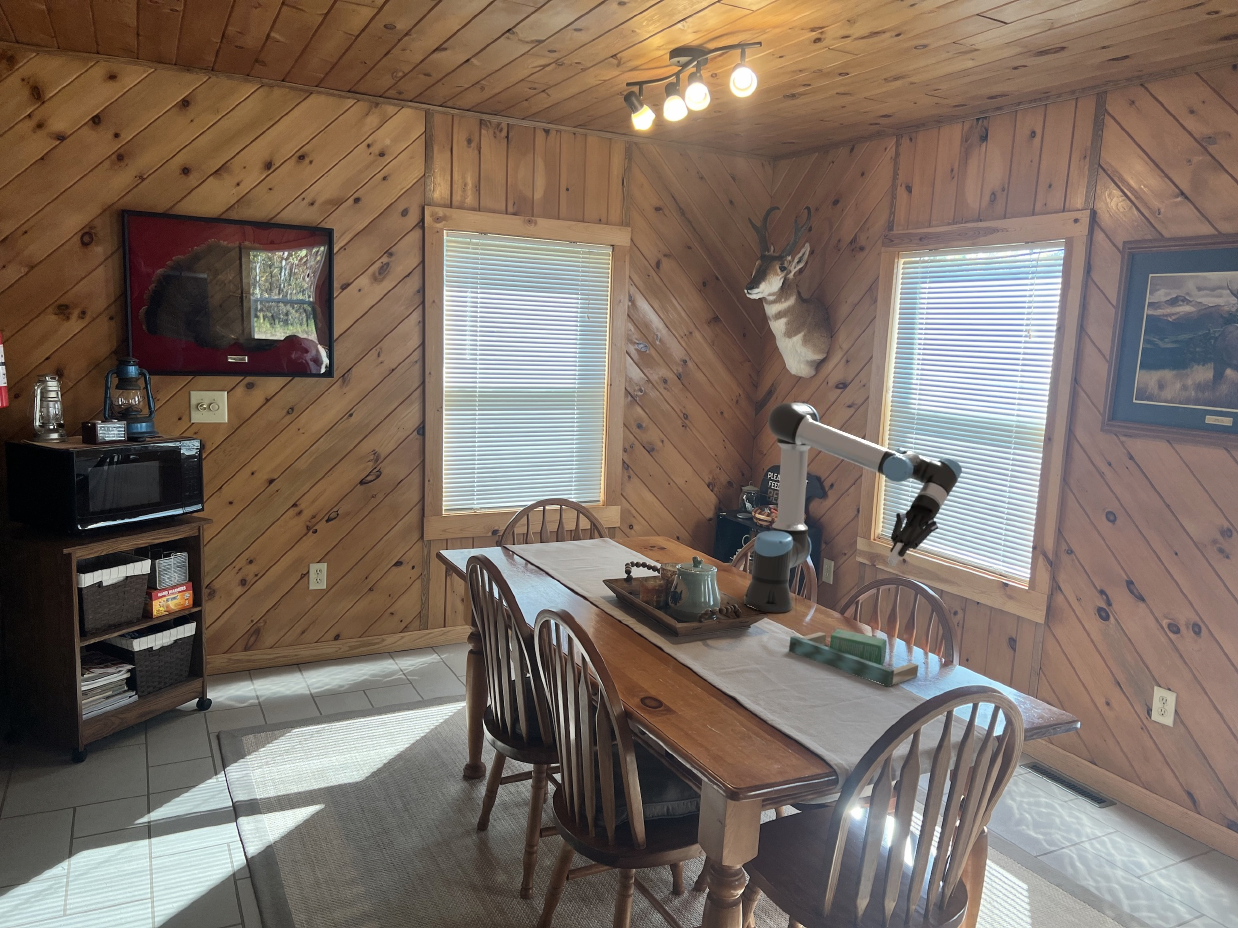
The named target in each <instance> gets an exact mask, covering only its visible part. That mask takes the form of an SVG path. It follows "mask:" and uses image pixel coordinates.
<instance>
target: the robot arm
mask: <svg viewBox="0 0 1238 928" xmlns="http://www.w3.org/2000/svg"><path fill="white" fill-rule="evenodd" d="M767 426H768V429H769V430H770V432H771V433H772V435H773V436H774V437H776V440H777V441H776V443H777V445H778V446H779V447H780V449H781V451H780V467H779V468H780V469H779V484H778V499H777V500H778V502H777V504H778V505H777V517H776V519H777V520H776V521H775V522H774V523H772V525H771V530H769V531H767V530H765V531H761V532H759V533H758V534H757V535H756V537H755V540H754V545H753V558H752V571H751V580H750V582H749V584H748V588H747V589H746V592H745V594H744V597H743V605H744V604H746V605H749V606H752V607H754V608H756V609H758V610H757V611H759V610H762V611H761V612H765V613H774V614H775V613H778V614H779V613H787V612H790V611H791V610H792V607H793V600H792V597H791V590H790V587H789V580H790V570H791V569H792V568H794V567H798V566H801V565H802V564H803V563H804V562H805V561H806V560H807V559H808V558H810V557H809V556H810V554H811V551H812V541H811V538H810V537H809V536H808V534H809V532H808V531H809V528H808V526H807V525H806V524H805V521H804V520H805V507H806V506H805V505H806V490H807V474H808V457H809V450H810V449H811V448H814V449H816V450H819V451H821V452H824V453H827V454H829V455H831V456H835V457H837V458H839V459H842V460H845V461H848V462H850V463H853V464H855V465H858V466H860V467H863V468H865V469H867V470H870V471H872V472H875V473H878V474H880V475H883V476H885V478H886V479H888V480H889V481H891V482H896V483H901V482H905V481H907V480H910V479H912V480H914V481H916V482H919V483H921V484H923V485H922V487H921V488H920V490H919V492H918V493H917V496H916V497H915V498H914V499H913V501H912V503H911V505H910V507H909V509H908V510H906V511H905V513H902V514H901V513H899V512H897V513H896V514H895V516H896V520H895V523H894V525H893V530H892V532H891V536H890V539H891V541H892V544H893V545H892V546H891V548H890V550H889V552H890V554H889V556H888V558H887V559H886V560H887V562H888V565H889V566H890V567H896V565H897V563H898V562H899V561H900V558H903V557H904V556H905V555H906V553H907V551H908V550H910V549H912V550H916V549H917V548H918V547H919V546H920V545H921V544H922V543H923V542H924V541H925V540H926V539H927V538H928V537H929V536H930V535H931V534H932V533H933V532H935V531H936V530H938V529H939V526H938V524H937V521H936V520H935V518H936V517H937V515H938V513H940V510H941V509H942V507H943V505H944V504H945V502H946V500H947V499H948V497H949V496H950V494H951V492H952V490H953V488H955V486H956V484H957V483H958V480H959V479H960V477H961V474H962V472H963V471H962V470H963V468H962V465H960V463H959V462H958V461H957V460H955V459H954V458H951V457H941V458H940V459H939V460H938V461H936V460H932V459H931V458H928V457H925V456H923V455H921V454H918V453H916V452H914V451H912V450H910V449H906V448H903V447H899V448H897V449H896V450H895V451H894V450H890V449H888V448H885V447H883V446H880V445H877V444H876V443H872V442H871V441H868V440H865V439H862V438H859V437H857V436H854V435H851V434H849V433H846V432H843V431H841V430H839V429H836V428H833V427H831V426H827V425H825V424H822V423H820V417H819V414H818V412H817V410H816V409H815V408H814V407H813V406H811V405H809V404H807V403H805V402H799V401H798V402H797V401H796V402H783V403H780V404H777V405H776V406H774V407H773V408H772V409H771V410H770V412H769V414H768V419H767ZM904 523H905V524H904ZM903 525H904V526H903ZM746 605H745V606H746Z"/></svg>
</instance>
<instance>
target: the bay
mask: <svg viewBox="0 0 1238 928" xmlns="http://www.w3.org/2000/svg"><path fill="white" fill-rule="evenodd" d="M826 642H827V633H825V632H819V631H818V632H816V633H812V634H808V635H804V636H801V637H800V636H797V635H792V636H790V637H789V645H788V646H789V648H788V652H791V653H793V654H796V655H798V656H802V657H804V658H806V659H809V660H812V661H816V662H818V663H821V664H822V665H823V664H824V665H825V666H829V667H832V668H833V669H837V670H840V671H842V670H843V672H846V673H847V674H850V673H851V675H853V674H854V675H853V676H856V675H857V676H856V677H859V676H860V677H859V678H861V677H863V678H862V679H864V678H867V679H870V680H873V681H876V682H879V683H881V684H884V685H885V686H884V687H886V686H890V685H893V684H895V685H897V683H898V684H901V683H903V682H905V681H908V680H911V679H914V678H917V677H918V673H919V664H917V663H914V662H909V663H907V664H904V665H901V666H897V667H895V668H889V667H886V666H884V665H883V666H881V665H878V664H875V663H873V662H870V661H867V660H864V659H861V658H858V657H855V656H852V655H849V654H847V653H844V652H841V651H838V650H835V649H832V648H830V646H826ZM867 679H866V680H867ZM870 680H869V681H870ZM881 684H880V685H881ZM893 686H894V685H893ZM890 687H891V686H890Z"/></svg>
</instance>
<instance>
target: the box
mask: <svg viewBox="0 0 1238 928" xmlns="http://www.w3.org/2000/svg"><path fill="white" fill-rule="evenodd" d="M829 643H830V644H829V648H832V649H835V650H838V651H841V652H844V653H847V654H849V655H852V656H855V657H858V658H861V659H864V660H867V661H870V662H873V663H875V664H878V665H881V666H884V664H885V660H886V656H887V647H888V646H887V643H888V642H887V639H885V638H882V637H877V636H874V635H873V636H871V635H869V634H868V635H867V634H863V633H858V632H855V631H849V630H844V629H840V628H836V629H835V630H834V631H833V632H832V633H831V634H830V642H829Z"/></svg>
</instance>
